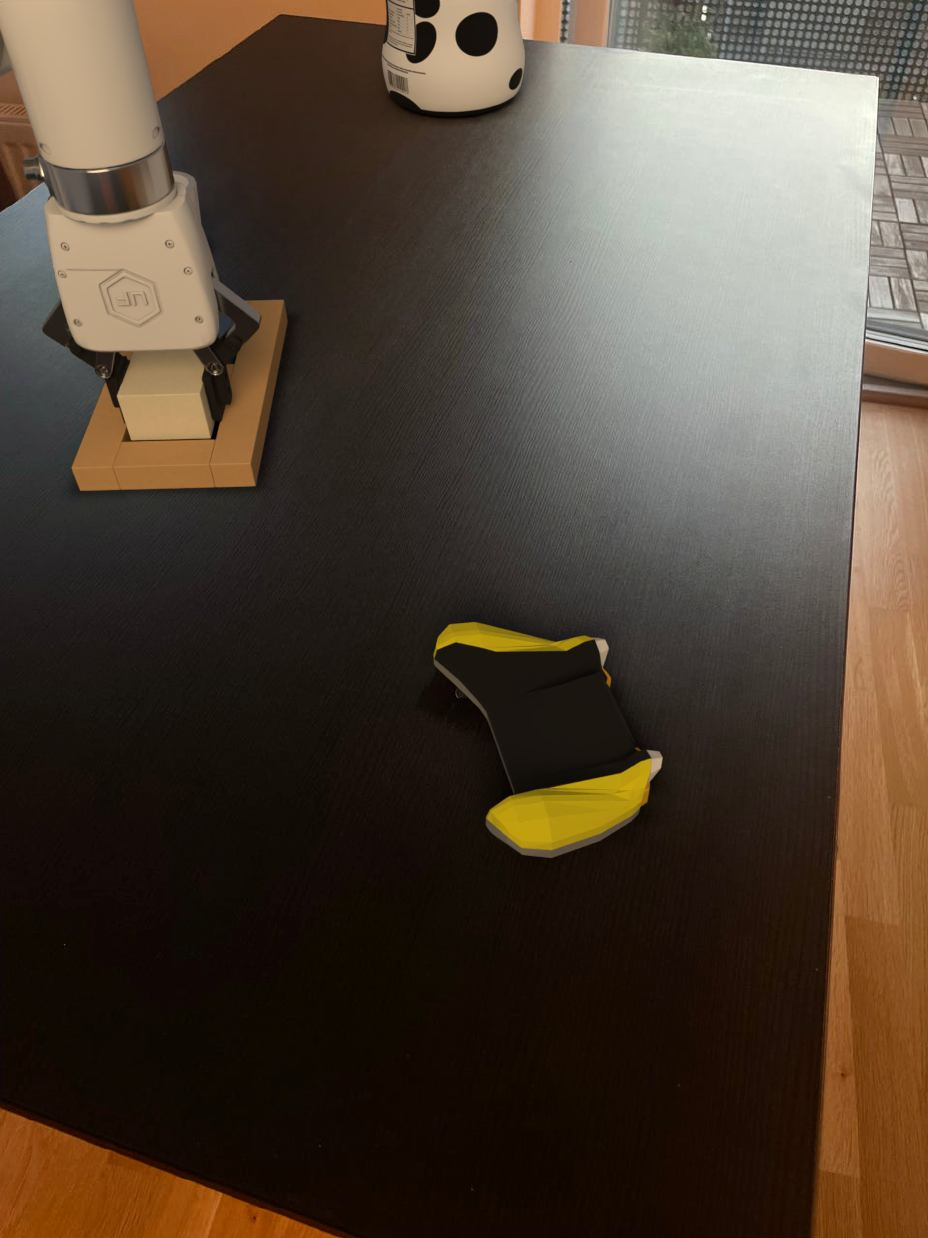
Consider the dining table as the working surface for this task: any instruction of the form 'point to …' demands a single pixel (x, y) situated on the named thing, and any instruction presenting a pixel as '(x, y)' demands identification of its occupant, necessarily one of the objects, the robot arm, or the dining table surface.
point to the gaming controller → (550, 735)
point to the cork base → (193, 462)
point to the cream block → (165, 397)
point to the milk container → (452, 55)
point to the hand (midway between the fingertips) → (176, 409)
